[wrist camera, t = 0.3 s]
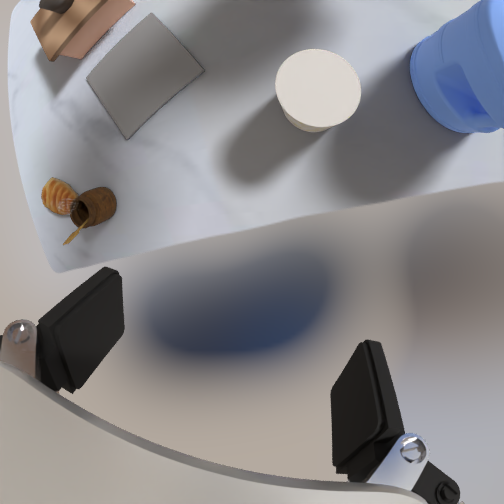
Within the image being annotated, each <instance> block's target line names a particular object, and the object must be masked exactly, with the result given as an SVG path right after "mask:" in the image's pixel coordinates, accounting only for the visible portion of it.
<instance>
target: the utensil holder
mask: <svg viewBox="0 0 504 504" xmlns="http://www.w3.org/2000/svg"><path fill="white" fill-rule="evenodd" d="M62 200H63V199H62ZM68 200H71V199H69V198H68ZM59 203H60V202H59ZM62 203H65V202H62ZM60 205H61V204H60ZM68 205H70V213H69V212H67V213H69V214H70V217H71V219H72V221H73V223H74V224H75V225H76V226H77V227H79V228H78V229H77V230H76V231H75V232H73V233H72V234H71V235H70V236H69V238H68V239H67V240H66V241H65V242H64V243H63V245H64V244H67V243H69V242H70V241H71V240H72V239H73V238H74V237H75V236H76V235H77V234H78V233H79V230H80V229H81V228H87V227H90V226H95V225H98V224H100V223H102V222H104V221H106V220H108V219H109V218H111V217H112V216H113V215H114V213H115V211H116V198H115V196H114V194H113V192H112V191H111V190H110V189H108V188H106V187H98V188H95V189H92V190H89V191H86V192H84V193H83V194H81V195H80V196H78V197H76V198H75V199H73V201H72V202H71V204H68ZM63 206H65V205H63ZM60 207H61V206H58V209H62V208H60ZM68 208H69V207H68ZM62 210H63V209H62ZM66 211H69V210H66ZM63 214H64V213H63Z"/></svg>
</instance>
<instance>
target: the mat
mask: <svg viewBox="0 0 504 504" xmlns="http://www.w3.org/2000/svg"><path fill="white" fill-rule="evenodd" d="M203 72H204V70H203V68H202V67H201V66H200V65H199V64H198V62H197V61H196V60H195V59H194V58H193V57H192V55H191V54H190V53H189V52H188V51H187V50H186V49H185V47H184V46H183V45H182V44H181V43H180V42H179V41H178V40H177V39H176V37H175V36H174V35H173V34H172V33H171V32H170V31H169V30H168V29H167V28H166V27H165V25H164V24H163V23H162V22H161V21H160V20H159V19H158V18H157V17H156V16H155V15H154V14H153V13H152V12H151V13H150V14H149V15H148V16H147V17H145V18H144V19H143V20H142V21H141V22H140V23H138V24H137V25H136V26H135V27H134V28H133V29H132V30H131V31H130V32H129V33H128V34H126V35H125V36H124V37H123V38H122V39H121V40H120V41H119V42H118V43H117V44H116V45H115V46H114V47H113V48H112V49H111V50H110V51H109V52H108V53H107V55H106V56H105V57H104V58H103V59H102V60H101V61H100V62H99V63H98V64H97V66H96V67H95V68H94V69H93V70H92V71H91V72H90V74H89V75H88V76H87V77H86V79H87V80H88V82H89V84H90V85H91V87H92V88H93V90H94V91H95V93H96V94H97V96H98V98H99V99H100V101H101V102H102V104H103V105H104V107H105V108H106V110H107V111H108V113H109V114H110V116H111V117H112V119H113V120H114V122H115V123H116V125H117V126H118V128H119V129H120V131H121V132H122V134H123V135H124V137H125V138H126V139H129V138H130V137H131V136H132V135H133V134H134V133H135V132H136V131H137V130H138V129H139V128H140V127H141V126H142V125H143V124H144V123H145V122H146V121H147V120H148V119H149V118H150V117H151V116H152V115H154V114H155V113H156V112H157V111H158V110H159V109H160V108H161V107H162V106H163V105H164V104H166V103H167V102H168V101H169V100H170V99H171V98H172V97H174V96H175V95H176V94H177V93H178V92H179V91H181V90H182V89H183V88H184V87H185V86H187V85H188V84H189V83H190V82H192V81H193V80H194V79H195V78H197V77H198V76H199V75H200V74H202V73H203Z"/></svg>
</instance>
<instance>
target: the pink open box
mask: <svg viewBox="0 0 504 504" xmlns="http://www.w3.org/2000/svg"><path fill="white" fill-rule="evenodd" d="M134 5H135V3H134V2H133V1H132V0H108V1H107V2H106V3H105V4H104V5H103V6H102V7H101V8H100V9H99V10H98V11H97V12H96V13H95V14H94V15H93V16H92V17H91V18H90V19H89V20H88V21H87V22H86V23H85V24H84V26H83V27H82V28H81V29H80V30H79V31H78V32H77V33H76V35H75V36H74V37H73V38H72V39H71V41H70V42H69V43H68V44H67V45H66V47H65V48H64V49H63V51H62V52H61V53H60V54H59V55H64V56H69V57H73V58H78V59H82V58H83V57H84V56H85V54H86V53H87V52H88V51H89V50H90V49H91V48H92V47H93V45H94V44H95V43H96V42H97V41H98V40H99V39H100V38H101V37H102V36H103V35H104V34H105V33H106V32H107V31H108V30H109V29H110V28H111V27H112V26H113V25H114V24H115V23H116V22H117V21H118V20H119V19H120V18H121V17H122V16H123V15H124V14H125V13H126V12H127V11H129V10H130V9H131V8H132V7H133V6H134Z"/></svg>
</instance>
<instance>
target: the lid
mask: <svg viewBox="0 0 504 504" xmlns="http://www.w3.org/2000/svg"><path fill="white" fill-rule="evenodd" d="M107 1H108V0H41V1H40V4H39V7H40V10H39V11H38V12H37V13H36V15H35V16H34V17H33V19H32V20H31V21H30V22H31V25H32V27H33V29H34V31H35V33H36V35H37V37H38V39H39V41H40V44H41V46H42V48H43V50H44V52H45V53H46V55H47V57H48V59H49V61H55V60H56V58H57V57H58V56H59V54H60V53H61V52H62V51H63V49H64V48H65V47H66V45H67V44H68V43H69V42H70V41H71V39H72V38H73V37H74V36H75V35H76V33H77V32H78V31H79V30H80V29H81V28H82V27H83V26H84V24H85V23H86V22H87V21H88V20H89V19H90V18H91V17H92V16H93V15H94V14H95V13H96V12H97V11H98V10H99V9H100V8H101V7H102V6H103V5H104V4H105V3H106V2H107Z"/></svg>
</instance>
